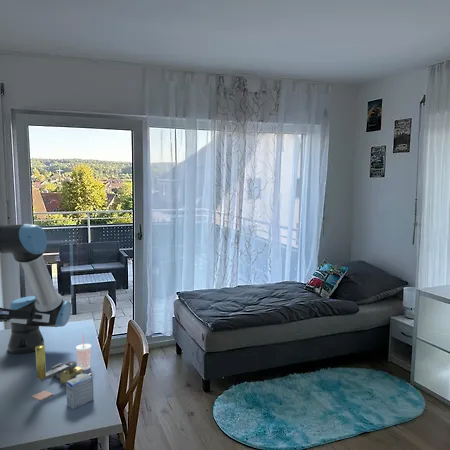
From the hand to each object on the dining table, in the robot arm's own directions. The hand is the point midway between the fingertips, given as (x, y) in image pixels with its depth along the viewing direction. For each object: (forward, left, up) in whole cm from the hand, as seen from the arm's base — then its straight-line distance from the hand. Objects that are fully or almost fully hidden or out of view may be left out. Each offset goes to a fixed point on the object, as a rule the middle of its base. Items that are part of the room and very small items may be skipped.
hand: (37, 319), depth 149 cm
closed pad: (+3, -1, -27) cm, 28 cm away
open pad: (-10, +10, -27) cm, 31 cm away
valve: (+3, +11, -27) cm, 30 cm away
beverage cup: (-3, +22, -28) cm, 36 cm away
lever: (+3, +5, -21) cm, 22 cm away
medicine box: (+18, +3, -28) cm, 33 cm away
